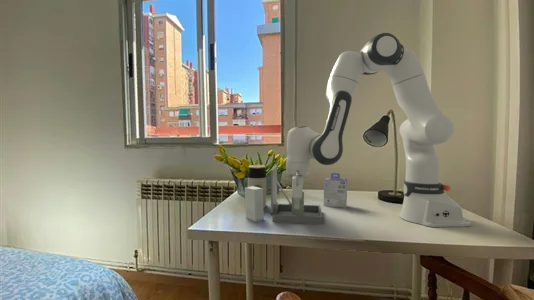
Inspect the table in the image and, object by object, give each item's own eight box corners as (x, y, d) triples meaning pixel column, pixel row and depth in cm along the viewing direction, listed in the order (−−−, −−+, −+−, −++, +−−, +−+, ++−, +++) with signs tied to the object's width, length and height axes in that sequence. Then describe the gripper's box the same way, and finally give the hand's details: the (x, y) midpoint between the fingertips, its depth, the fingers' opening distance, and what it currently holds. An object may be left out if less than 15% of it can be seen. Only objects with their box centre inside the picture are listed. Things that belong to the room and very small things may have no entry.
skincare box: (264, 220, 101) (264, 188, 100) (254, 223, 98) (254, 189, 97) (253, 216, 105) (253, 185, 105) (244, 219, 102) (244, 187, 102)
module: (303, 214, 106) (303, 190, 106) (303, 218, 102) (303, 192, 101) (292, 214, 107) (292, 190, 106) (291, 217, 103) (291, 192, 102)
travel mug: (250, 204, 124) (250, 164, 123) (267, 204, 123) (267, 165, 122) (245, 208, 117) (245, 166, 115) (264, 209, 115) (264, 167, 114)
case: (319, 212, 112) (320, 165, 111) (322, 225, 96) (323, 171, 94) (275, 210, 114) (275, 165, 113) (270, 223, 98) (271, 170, 97)
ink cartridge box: (346, 205, 123) (347, 173, 122) (346, 208, 117) (347, 175, 116) (323, 203, 125) (324, 172, 124) (323, 207, 120) (323, 174, 119)
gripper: (306, 173, 93) (305, 213, 94) (306, 166, 113) (305, 199, 114) (287, 172, 94) (287, 212, 94) (290, 165, 114) (290, 198, 115)
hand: (297, 205), depth 104 cm, fingers open, 8 cm apart
